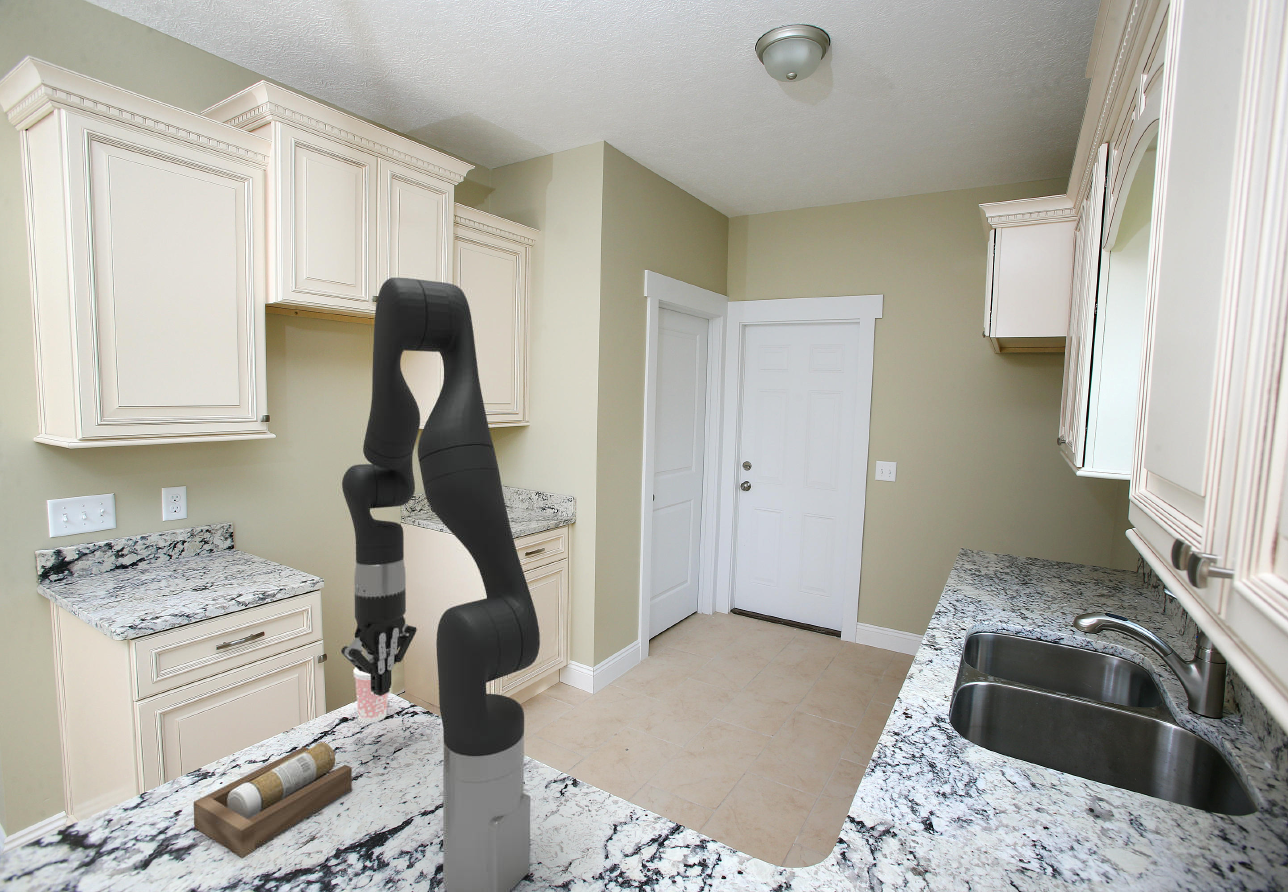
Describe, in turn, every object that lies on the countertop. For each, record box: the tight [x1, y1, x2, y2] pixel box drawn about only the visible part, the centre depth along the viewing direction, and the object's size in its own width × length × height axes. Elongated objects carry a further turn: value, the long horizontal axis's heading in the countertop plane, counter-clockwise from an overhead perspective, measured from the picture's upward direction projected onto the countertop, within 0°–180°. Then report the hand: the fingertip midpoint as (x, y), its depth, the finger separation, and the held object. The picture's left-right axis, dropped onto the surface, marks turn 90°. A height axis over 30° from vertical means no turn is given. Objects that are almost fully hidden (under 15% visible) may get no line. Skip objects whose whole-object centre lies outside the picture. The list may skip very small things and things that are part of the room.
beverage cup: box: [353, 666, 389, 724], centre depth 107 cm, size 6×6×14 cm
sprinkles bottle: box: [227, 741, 336, 819], centre depth 85 cm, size 5×5×14 cm
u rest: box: [193, 746, 353, 859], centre depth 83 cm, size 11×15×4 cm
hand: (381, 692), depth 97 cm, fingers closed
